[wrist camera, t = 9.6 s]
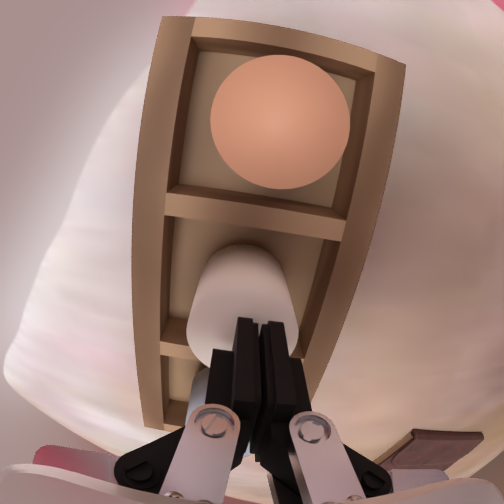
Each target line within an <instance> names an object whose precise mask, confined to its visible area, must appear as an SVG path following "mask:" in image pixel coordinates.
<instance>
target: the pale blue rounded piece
mask: <svg viewBox="0 0 504 504" xmlns="http://www.w3.org/2000/svg"><path fill="white" fill-rule="evenodd" d="M209 371H210V368H209V367H207V368H205V369H203V370H201V371H199V372H198V373H197V374H196V375H195V377H194V378H193V381H192V387H191V393H190V398H189V404H188V410H187V416H186V422H185V426H186V424H187V422H188V419H189V416H190V415H191V413H192V412H193V410H195V409H196V408H197V407H199V406H202V405H205V398H206V391H207V384H208V377H209ZM249 455H251V453H250V443H249V444H248V447H247V450H246V453H244V455H243V457H246V456H249Z"/></svg>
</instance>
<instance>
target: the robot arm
mask: <svg viewBox="0 0 504 504" xmlns="http://www.w3.org/2000/svg"><path fill="white" fill-rule="evenodd" d="M249 443H250V453H251V454H255V462H260V465H261V466H262V467H263V468H265V469H266V470H267V478H268V482H269V487H270V491H271V495H272V499H273V503H274V504H504V498H503V496H502V495H501V493H500V492H499V490H498V489H497V488H496V487H495V486H494V485H493V484H492V483H491V482H489V481H486V480H482V479H476V478H457V479H450V480H449V478H448V476H447V475H446V474H445V472H443V471H441V470H438V469H392V470H391V471H386V470H385V469H384V468H382V467H381V466H379V465H377V464H376V463H374V462H372V461H371V460H369V459H367V458H366V457H364V456H362V455H361V454H359V453H357V452H356V451H354V450H353V449H351V448H349V447H348V446H346V445H345V444H343V443H342V441H341V439H340V437H339V434H338V432H337V430H336V428H335V425H334V424H333V422H332V421H331V420H330V419H329V418H328V417H327V416H325V415H323V414H321V413H317V412H314V411H312V409H311V404H310V399H309V394H308V389H307V384H306V379H305V374H304V370H303V365H302V361H301V359H300V358H292V357H289V351H288V345H287V339H286V333H285V327H284V323H283V322H277V321H268V323H267V324H262V326H261V330H260V335H259V329H258V323H253V318H245V317H238V319H237V324H236V330H235V336H234V342H233V348H232V351H228V350H221V349H214V348H213V351H212V357H211V364H210V371H209V377H208V384H207V391H206V398H205V405H202V406H199V407H197V408H196V409H195V410H193V412H192V413H191V415H190V416H189V419H188V422H187V424H186V426H184V427H182V428H180V429H178V430H176V431H174V432H172V433H170V434H168V435H166V436H163V437H161V438H159V439H157V440H155V441H153V442H151V443H149V444H146V445H144V446H142V447H140V448H138V449H135V450H133V451H131V452H128V453H126V454H124V455H123V456H121V457H119V456H110V454H109V453H103V452H95V451H86V450H79V449H73V448H67V447H62V446H56V445H45V446H43V447H40V448H39V449H38V450H37V451H36V453H35V455H34V459H33V464H13V465H8V466H5V467H3V468H2V469H0V504H222V503H223V499H224V495H225V491H226V487H227V483H228V478H229V474H230V471H231V470H232V469H234V468H235V467H237V466H238V465H240V464H241V461H242V458H243V455H244V453H246V450H247V447H248V444H249Z"/></svg>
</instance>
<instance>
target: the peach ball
mask: <svg viewBox="0 0 504 504" xmlns="http://www.w3.org/2000/svg"><path fill="white" fill-rule="evenodd" d="M210 124H211V132H212V137H213V140H214V143H215V146H216V148H217V150H218V152H219V154H220V155H221V157H222V158H223V160H224V161H225V162H226V163H227V165H228V166H229V167H230V168H231V169H232V170H233V171H234V172H236V173H237V174H238V175H240V176H241V177H242V178H244V179H246V180H248V181H250V182H251V183H254V184H257V185H259V186H262V187H267V188H272V189H292V188H298V187H301V186H305V185H308V184H310V183H312V182H314V181H316V180H318V179H320V178H321V177H323V176H324V175H325V174H327V173H328V172H329V171H330V170H331V169H332V168H333V167H334V166H335V165H336V163H337V162H338V161H339V159H340V158H341V156H342V154H343V152H344V150H345V148H346V145H347V142H348V138H349V132H350V115H349V109H348V106H347V102H346V100H345V97H344V95H343V93H342V91H341V90H340V88H339V86H338V85H337V84H336V82H335V81H334V80H333V79H332V78H331V77H330V76H329V75H328V74H327V73H326V72H325V71H324V70H322V69H321V68H320V67H318V66H316V65H315V64H313V63H311V62H309V61H306V60H304V59H301V58H298V57H294V56H288V55H269V56H263V57H259V58H256V59H253V60H251V61H248V62H246V63H244V64H243V65H241V66H239V67H238V68H237V69H235V70H234V71H233V72H232V73H231V74H230V75H229V76H228V77H227V78H226V79H225V80H224V81H223V83H222V84H221V86H220V87H219V89H218V91H217V93H216V95H215V98H214V100H213V104H212V108H211V116H210Z"/></svg>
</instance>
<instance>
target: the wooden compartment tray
mask: <svg viewBox="0 0 504 504" xmlns="http://www.w3.org/2000/svg"><path fill="white" fill-rule="evenodd" d="M269 55H288V56H294V57H298V58H301V59H304V60H306V61H309V62H311V63H313V64H315V65H316V66H318V67H320V68H321V69H322V70H324V71H325V72H326V73H327V74H328V75H329V76H330V77H331V78H332V79H333V80H334V81H335V82H336V84H337V85H338V86H339V88H340V90H341V91H342V93H343V95H344V97H345V100H346V102H347V106H348V109H349V115H350V132H349V138H348V142H347V145H346V148H345V150H344V152H343V154H342V156H341V158H340V159H339V161H338V162H337V163H336V165H335V166H334V167H333V168H332V169H331V170H330V171H329V172H328V173H327V174H325V175H324V176H323V177H321V178H320V179H318V180H316V181H314V182H312V183H310V184H308V185H305V186H301V187H298V188H292V189H272V188H267V187H262V186H259V185H257V184H254V183H251V182H250V181H248V180H246V179H244V178H242V177H241V176H240V175H238V174H237V173H236V172H234V171H233V170H232V169H231V168H230V167H229V166H228V165H227V163H226V162H225V161H224V160H223V158H222V157H221V155H220V154H219V152H218V150H217V148H216V146H215V143H214V140H213V137H212V132H211V124H210V116H211V108H212V104H213V100H214V98H215V95H216V93H217V91H218V89H219V87H220V86H221V84H222V83H223V81H224V80H225V79H226V78H227V77H228V76H229V75H230V74H231V73H232V72H233V71H234V70H235V69H237V68H238V67H239V66H241V65H243V64H244V63H246V62H248V61H251V60H253V59H256V58H259V57H263V56H269ZM405 68H406V65H405V64H403V63H401V62H398V61H396V60H393V59H391V58H388V57H386V56H383V55H380V54H378V53H375V52H372V51H369V50H366V49H364V48H361V47H358V46H355V45H351V44H348V43H345V42H342V41H338V40H335V39H331V38H328V37H324V36H320V35H316V34H312V33H308V32H304V31H299V30H295V29H290V28H285V27H280V26H274V25H268V24H262V23H256V22H248V21H240V20H231V19H221V18H207V17H182V16H180V17H179V16H163V17H162V20H161V23H160V28H159V32H158V35H157V40H156V44H155V48H154V53H153V57H152V62H151V67H150V72H149V77H148V83H147V88H146V94H145V100H144V106H143V113H142V120H141V127H140V135H139V143H138V152H137V162H136V172H135V185H134V199H133V218H132V308H133V328H134V342H135V354H136V365H137V375H138V383H139V391H140V399H141V406H142V413H143V420H144V426H145V427H149V428H153V429H158V430H164V431H169V432H174V431H176V430H178V429H180V428H182V427H184V426H185V422H186V416H187V410H188V404H189V398H190V393H191V387H192V381H193V378H194V377H195V375H196V374H197V373H198V372H199V371H201V370H203V369H205V368H207V367H208V366H206V365H205V364H203V363H202V362H201V361H200V360H199V359H198V358H197V357H196V356H195V355H194V353H193V352H192V350H191V348H190V346H189V344H188V341H187V335H186V329H187V323H188V319H189V315H190V312H191V308H192V304H193V301H194V297H195V294H196V290H197V287H198V283H199V280H200V276H201V273H202V270H203V267H204V265H205V264H206V262H207V261H208V259H209V258H210V257H211V256H212V255H213V254H215V253H216V252H218V251H219V250H221V249H223V248H225V247H228V246H231V245H237V244H247V245H253V246H257V247H260V248H262V249H264V250H266V251H268V252H269V253H270V254H272V255H273V256H274V257H275V258H276V259H277V261H278V262H279V263H280V265H281V267H282V269H283V272H284V276H285V279H286V283H287V287H288V290H289V294H290V298H291V302H292V305H293V309H294V313H295V317H296V320H297V324H298V331H299V332H298V340H297V344H296V346H295V349H294V350H293V352H292V354H291V355H290V356H289V357H292V358H300V359H301V361H302V365H303V370H304V374H305V379H306V384H307V389H308V394H309V399H310V403H311V401H312V399H313V396H314V394H315V392H316V390H317V388H318V385H319V383H320V381H321V378H322V376H323V374H324V371H325V369H326V367H327V364H328V362H329V360H330V357H331V355H332V352H333V350H334V347H335V345H336V342H337V340H338V337H339V334H340V332H341V329H342V327H343V324H344V321H345V318H346V316H347V313H348V310H349V307H350V305H351V302H352V299H353V296H354V293H355V290H356V287H357V284H358V281H359V278H360V275H361V272H362V269H363V266H364V262H365V259H366V256H367V252H368V249H369V246H370V242H371V239H372V235H373V232H374V228H375V225H376V221H377V217H378V213H379V209H380V205H381V202H382V197H383V193H384V189H385V185H386V181H387V176H388V172H389V167H390V162H391V157H392V153H393V147H394V142H395V137H396V131H397V126H398V120H399V113H400V107H401V100H402V93H403V85H404V77H405Z"/></svg>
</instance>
